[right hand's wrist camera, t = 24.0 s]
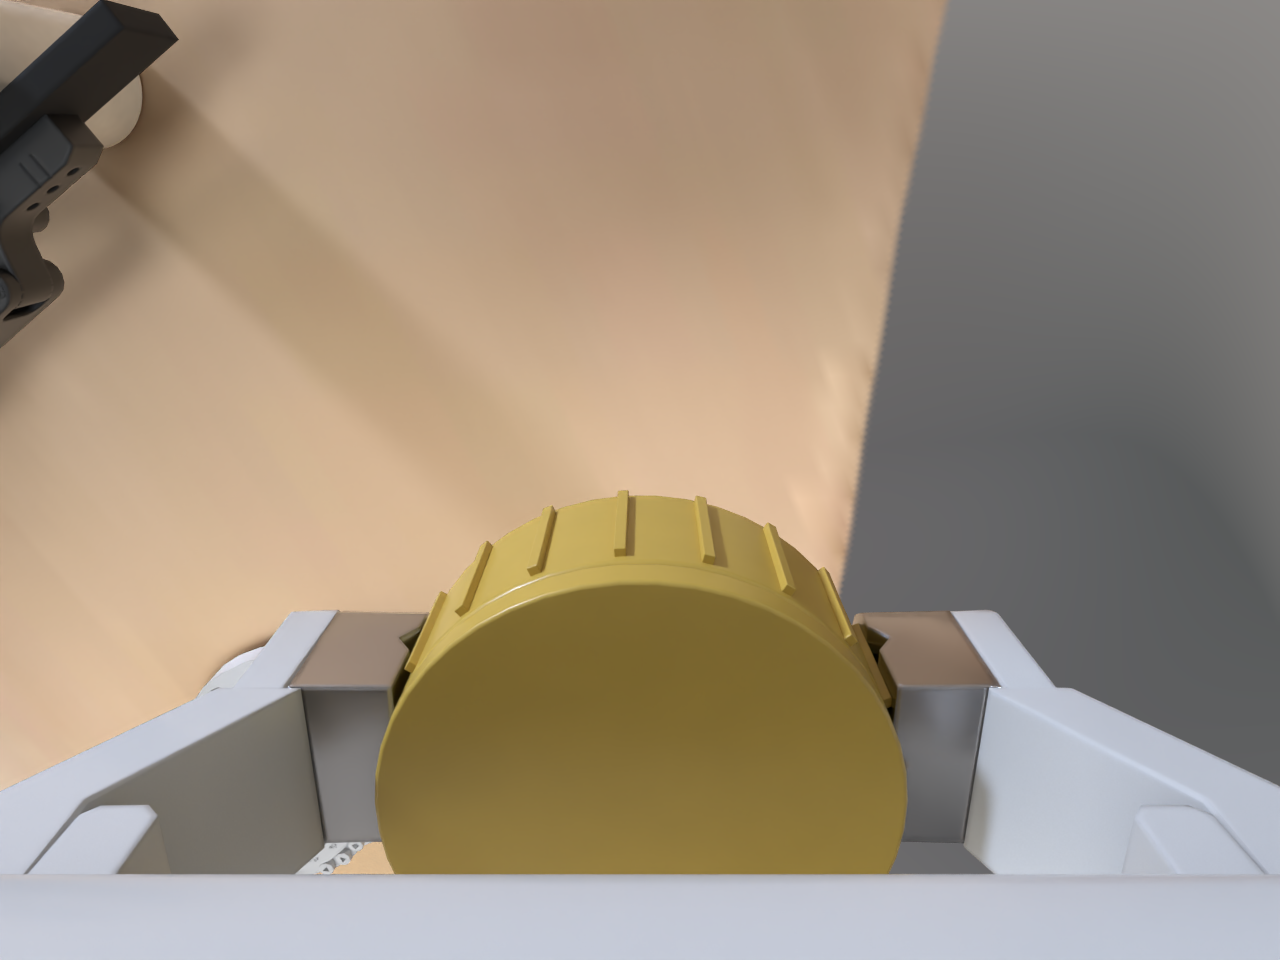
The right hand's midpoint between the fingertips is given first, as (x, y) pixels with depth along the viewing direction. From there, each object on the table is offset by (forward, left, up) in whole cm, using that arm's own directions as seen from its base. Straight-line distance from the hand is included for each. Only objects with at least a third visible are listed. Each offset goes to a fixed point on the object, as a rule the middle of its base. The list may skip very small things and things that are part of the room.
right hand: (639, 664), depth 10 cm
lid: (0, 0, +2) cm, 2 cm away
